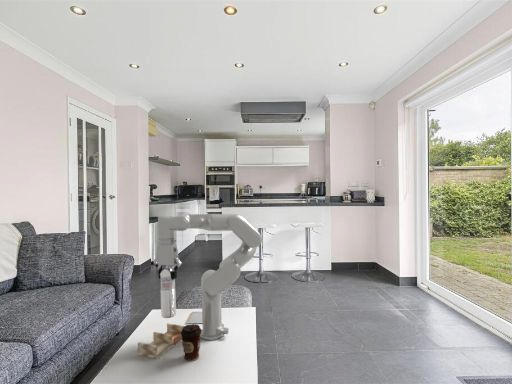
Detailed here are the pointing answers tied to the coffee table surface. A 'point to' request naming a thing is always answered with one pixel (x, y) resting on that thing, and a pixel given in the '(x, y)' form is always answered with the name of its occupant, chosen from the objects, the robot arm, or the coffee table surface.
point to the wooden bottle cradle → (161, 342)
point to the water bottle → (167, 294)
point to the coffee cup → (191, 341)
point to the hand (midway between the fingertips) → (167, 278)
